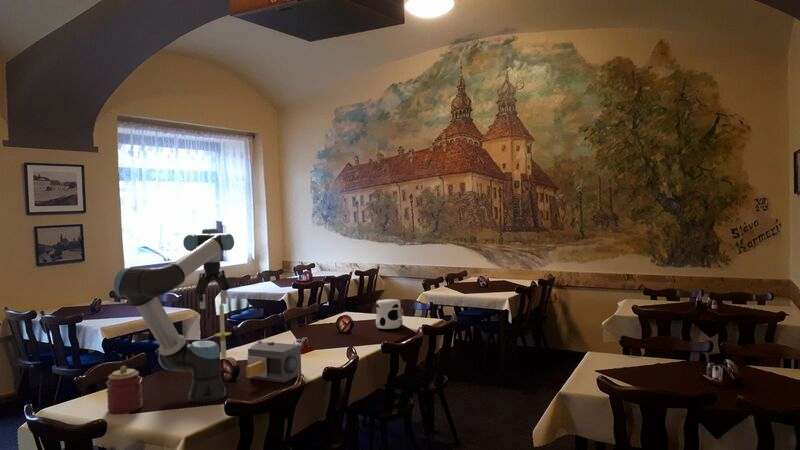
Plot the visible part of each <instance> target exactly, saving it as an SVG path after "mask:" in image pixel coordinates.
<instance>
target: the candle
mask: <svg viewBox="0 0 800 450" xmlns="http://www.w3.org/2000/svg"><path fill="white" fill-rule="evenodd" d="M218 306H219V326H220V327H219V328H220V332H216V333H214V334H213V335H214V336H215V337H219V339H220V360H221V359H222V358H226V359H227V346H226V344H227V343H226V337H227V336H230V335H232V332H231V331H225V329H226V328H225V309H224V308H225V306H224V304H221V303H220V304H219V305H218Z"/></svg>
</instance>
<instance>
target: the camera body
mask: <svg viewBox="0 0 800 450" xmlns="http://www.w3.org/2000/svg"><path fill="white" fill-rule="evenodd" d="M301 352H302V351H301V345H300V344H296V343H295V344H293V343H281V342H274V341H266V342H264V343H263V344H260V345H257V346H254V347H251V346H250V347H248V348H247V357H248V356H259V357H266V362H267V377H259V376H253V377H251V378H250V379H253V380H254V379H255V380H261V381H262V380H263V381H268V382H277V383H285V382H287V381H290V380H291V379H294V378H296V377H298V376H299V375H298V374H300V375H302V359H301V358H302V355H301ZM297 375H298V376H297Z"/></svg>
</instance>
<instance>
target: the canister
mask: <svg viewBox="0 0 800 450" xmlns="http://www.w3.org/2000/svg"><path fill="white" fill-rule="evenodd" d="M139 374H140V372H139V370H136V369H134V368H128V367H127V366H126V365H122V366H120V369H117V370H114V371H112V373H110V374H109V375H108V376H107V378H108V380H107V381H106V382H105V384H106V385H107V389H106V393H107V397H106V398H107V406H106V408H107V411H108V413H109V414H112V415H113V414H114V415H116V414H117V415H120V414H121V415H122V414H127V413H128V414H129V413H132V412H135V411H137V410H139V409H141V408H142V407H143V403H144V402H143V393H142V392H143V391H142V387H143V385H142V384H141V380H142V376H140V375H139Z"/></svg>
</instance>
